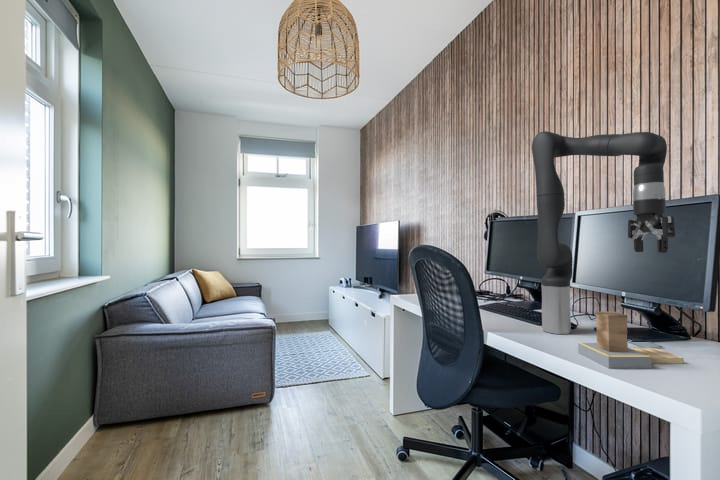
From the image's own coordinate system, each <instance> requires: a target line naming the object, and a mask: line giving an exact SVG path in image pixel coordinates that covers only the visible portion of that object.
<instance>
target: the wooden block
mask: <svg viewBox="0 0 720 480" xmlns="http://www.w3.org/2000/svg"><path fill="white" fill-rule="evenodd" d="M595 315H596V316H595V318H596V319H595V320H596V343H597V347H599V348H601V349H603V350H606V351H608V352H628V345H629V344H628V343H627V334H628V315H627V314H624V313H620V312H617V311H595Z"/></svg>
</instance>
